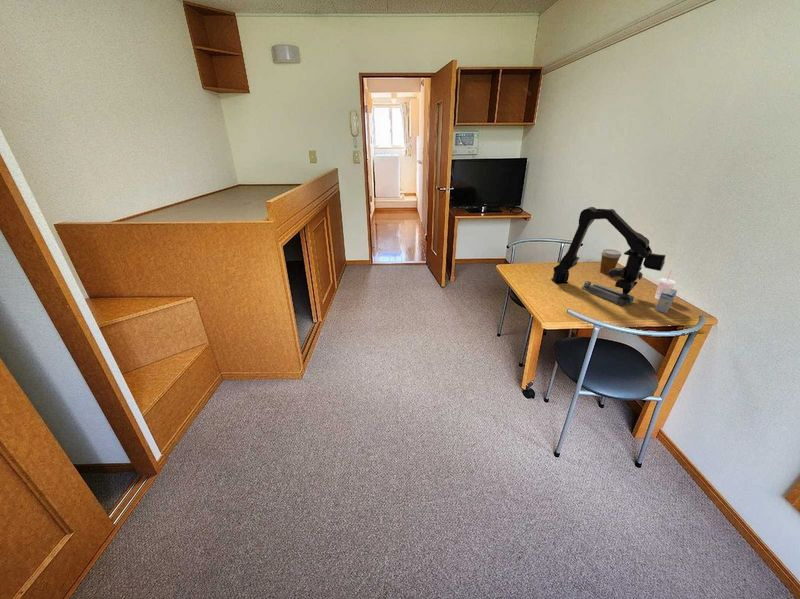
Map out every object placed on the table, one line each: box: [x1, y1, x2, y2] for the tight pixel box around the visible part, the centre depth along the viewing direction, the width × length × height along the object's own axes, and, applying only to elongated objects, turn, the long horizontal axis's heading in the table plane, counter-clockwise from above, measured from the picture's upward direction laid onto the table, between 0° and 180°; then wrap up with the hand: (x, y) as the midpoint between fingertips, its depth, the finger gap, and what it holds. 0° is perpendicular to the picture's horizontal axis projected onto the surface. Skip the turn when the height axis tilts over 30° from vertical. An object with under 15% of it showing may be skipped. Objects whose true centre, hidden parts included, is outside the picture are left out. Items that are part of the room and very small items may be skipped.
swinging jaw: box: [592, 282, 635, 305], centre depth 159 cm, size 18×3×3 cm, turn 30°
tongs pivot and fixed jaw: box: [581, 280, 628, 307], centre depth 160 cm, size 23×5×4 cm, turn 25°
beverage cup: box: [654, 270, 676, 300], centre depth 154 cm, size 6×6×14 cm
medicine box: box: [654, 288, 678, 314], centre depth 145 cm, size 8×4×9 cm, turn 135°
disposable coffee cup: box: [599, 248, 622, 275], centre depth 184 cm, size 10×10×12 cm
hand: (624, 296), depth 157 cm, fingers closed
